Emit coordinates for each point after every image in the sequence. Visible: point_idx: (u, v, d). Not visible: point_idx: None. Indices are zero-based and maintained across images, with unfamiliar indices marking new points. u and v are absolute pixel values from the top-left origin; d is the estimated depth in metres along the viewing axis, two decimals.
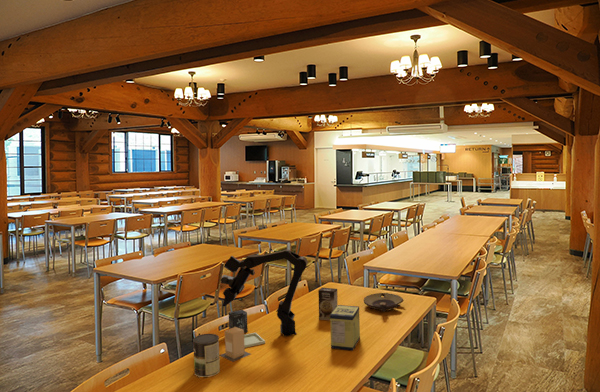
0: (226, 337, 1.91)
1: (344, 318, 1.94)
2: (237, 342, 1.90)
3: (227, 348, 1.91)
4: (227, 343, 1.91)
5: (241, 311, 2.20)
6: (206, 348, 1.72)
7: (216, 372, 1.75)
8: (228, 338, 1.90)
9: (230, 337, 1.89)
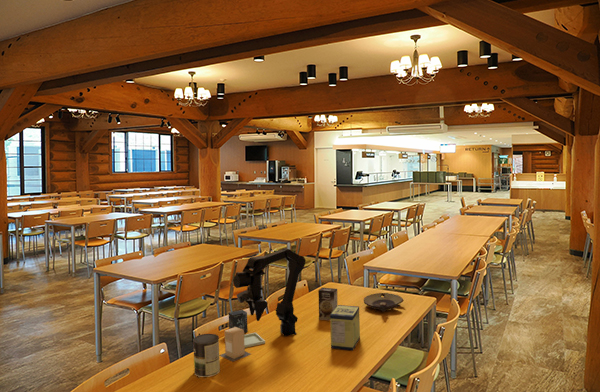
0: (226, 337, 1.91)
1: (344, 318, 1.94)
2: (237, 342, 1.90)
3: (227, 348, 1.91)
4: (227, 343, 1.91)
5: (241, 311, 2.20)
6: (206, 348, 1.72)
7: (216, 372, 1.75)
8: (228, 338, 1.90)
9: (230, 337, 1.89)
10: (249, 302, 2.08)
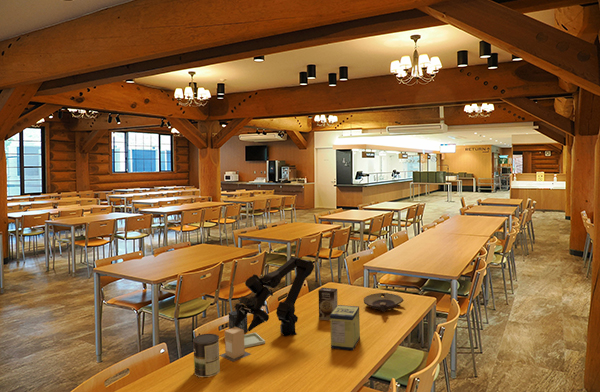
0: (226, 337, 1.91)
1: (344, 318, 1.94)
2: (237, 342, 1.90)
3: (227, 348, 1.91)
4: (227, 343, 1.91)
5: None
6: (206, 348, 1.72)
7: (216, 372, 1.75)
8: (228, 338, 1.90)
9: (230, 337, 1.89)
10: (240, 312, 2.01)
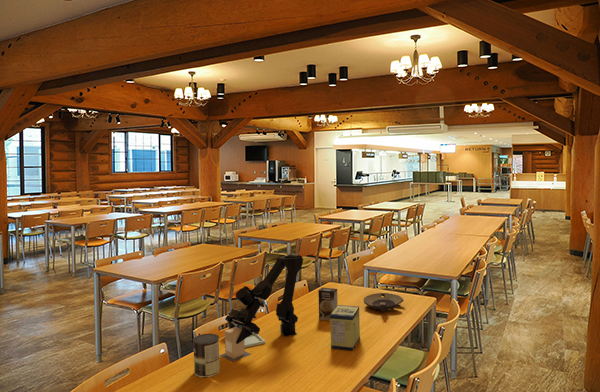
0: (226, 337, 1.91)
1: (344, 318, 1.94)
2: None
3: (227, 348, 1.91)
4: (227, 343, 1.91)
5: None
6: (206, 348, 1.72)
7: (216, 372, 1.75)
8: (228, 338, 1.90)
9: (230, 337, 1.89)
10: (232, 325, 1.96)
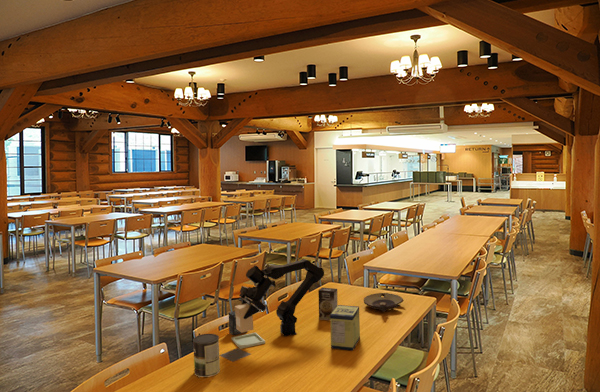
0: (236, 312, 2.03)
1: (344, 318, 1.94)
2: None
3: (237, 322, 2.03)
4: (236, 318, 2.03)
5: None
6: (206, 348, 1.72)
7: (216, 372, 1.75)
8: (237, 313, 2.02)
9: (238, 312, 2.01)
10: (244, 302, 2.08)
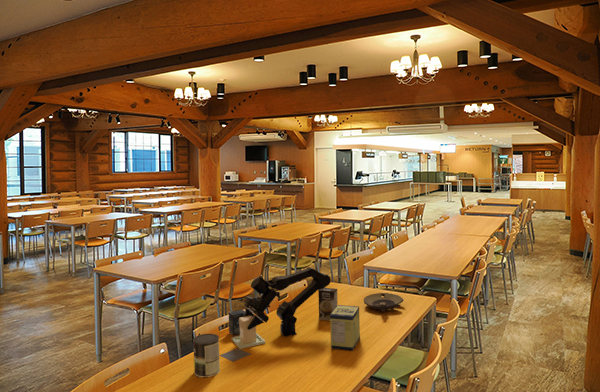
0: (240, 324, 2.07)
1: (344, 318, 1.94)
2: (248, 330, 2.04)
3: (240, 334, 2.07)
4: (240, 329, 2.06)
5: (241, 311, 2.20)
6: (206, 348, 1.72)
7: (216, 372, 1.75)
8: (240, 325, 2.05)
9: (241, 324, 2.04)
10: (248, 311, 2.12)
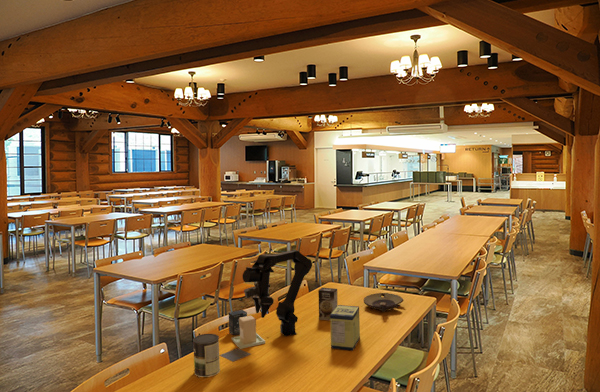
0: (240, 324, 2.07)
1: (344, 318, 1.94)
2: (248, 330, 2.04)
3: (240, 334, 2.07)
4: (240, 329, 2.06)
5: (241, 311, 2.20)
6: (206, 348, 1.72)
7: (216, 372, 1.75)
8: (240, 325, 2.05)
9: (241, 324, 2.04)
10: (255, 299, 2.09)
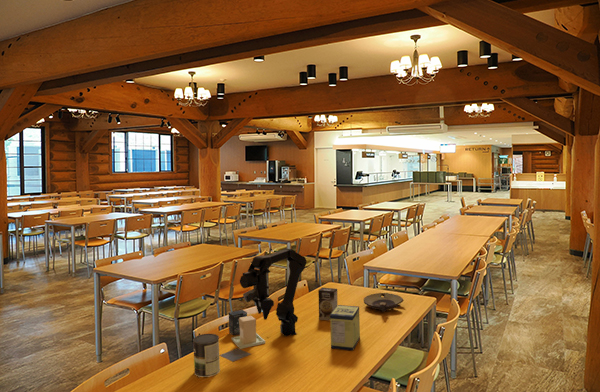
0: (240, 324, 2.07)
1: (344, 318, 1.94)
2: (248, 330, 2.04)
3: (240, 334, 2.07)
4: (240, 329, 2.06)
5: (241, 311, 2.20)
6: (206, 348, 1.72)
7: (216, 372, 1.75)
8: (240, 325, 2.05)
9: (241, 324, 2.04)
10: (256, 301, 2.08)
